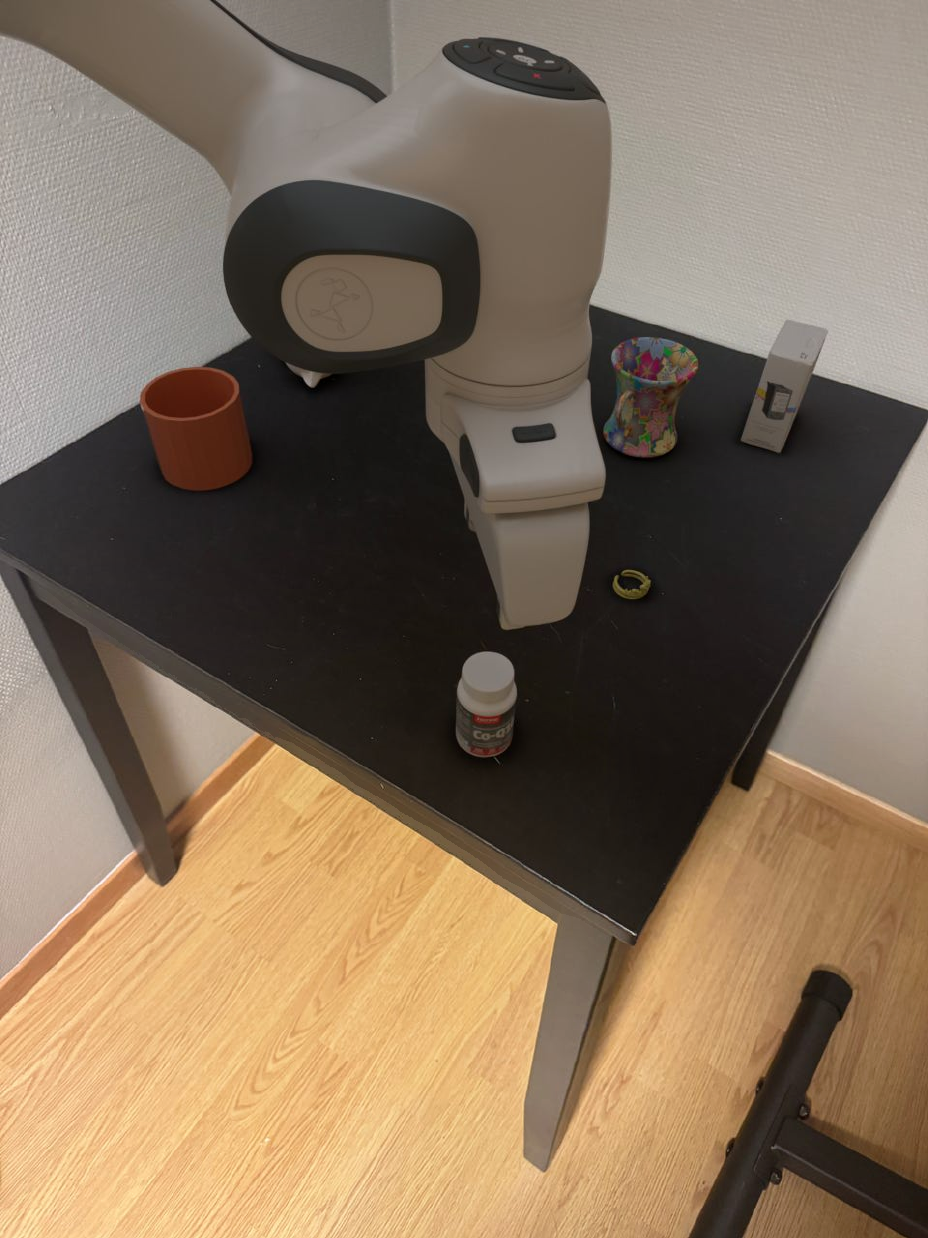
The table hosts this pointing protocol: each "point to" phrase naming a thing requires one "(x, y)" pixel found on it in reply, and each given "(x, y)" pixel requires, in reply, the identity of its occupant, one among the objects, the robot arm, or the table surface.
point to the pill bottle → (486, 704)
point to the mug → (648, 395)
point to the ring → (635, 592)
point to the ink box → (783, 384)
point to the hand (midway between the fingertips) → (494, 570)
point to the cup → (197, 427)
